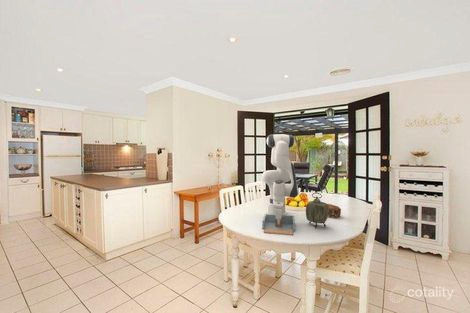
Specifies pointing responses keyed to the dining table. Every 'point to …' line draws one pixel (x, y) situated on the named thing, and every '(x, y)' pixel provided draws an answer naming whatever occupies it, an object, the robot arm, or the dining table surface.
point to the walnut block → (278, 224)
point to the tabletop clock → (316, 211)
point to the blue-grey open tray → (286, 224)
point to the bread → (333, 211)
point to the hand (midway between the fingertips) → (278, 221)
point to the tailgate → (278, 231)
